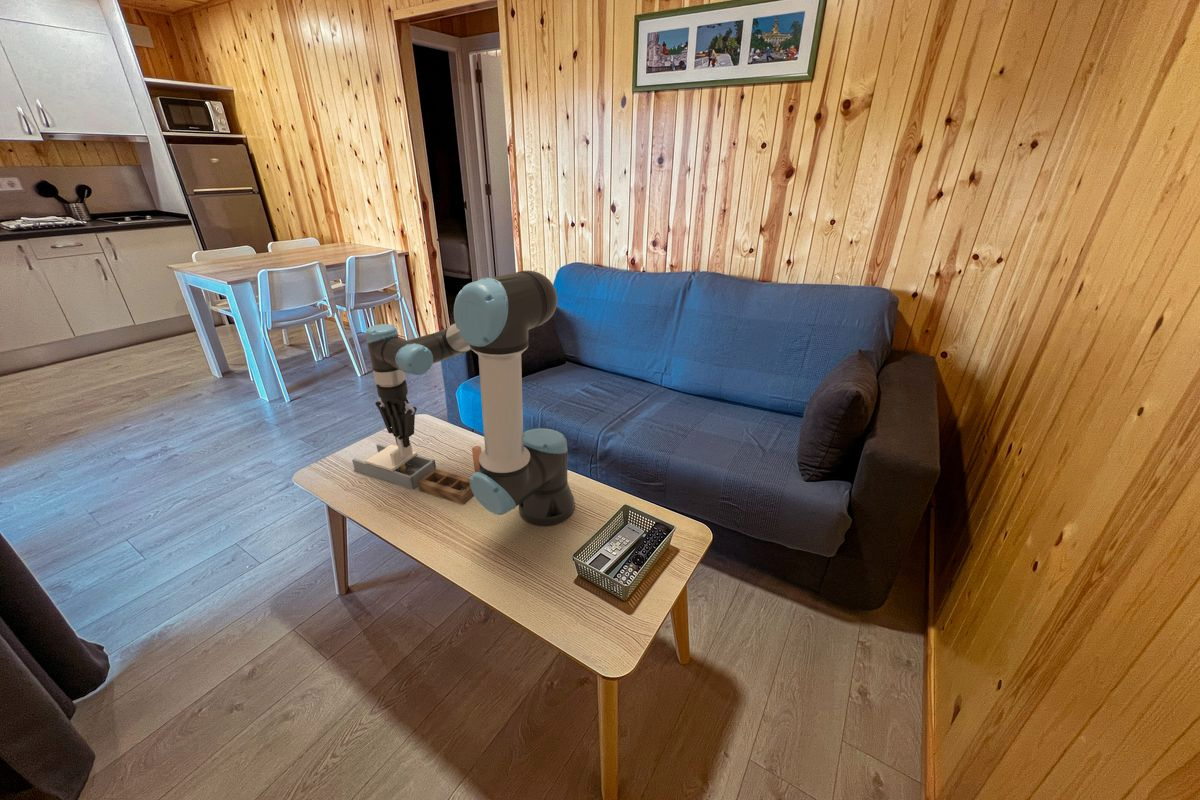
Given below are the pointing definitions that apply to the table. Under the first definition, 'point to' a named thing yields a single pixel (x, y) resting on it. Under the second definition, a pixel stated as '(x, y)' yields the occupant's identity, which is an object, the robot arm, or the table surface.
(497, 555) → the table surface
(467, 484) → the wooden compartment rack
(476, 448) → the pin
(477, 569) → the table surface
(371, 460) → the lid
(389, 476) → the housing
